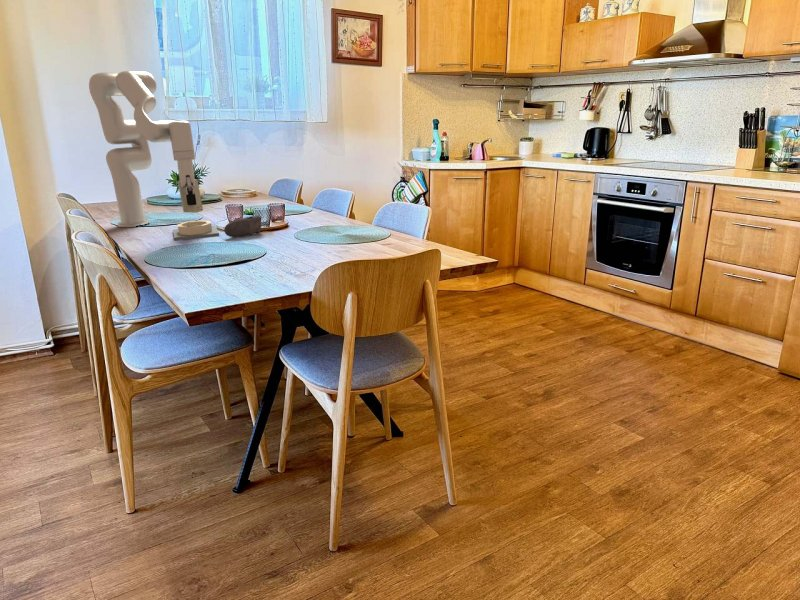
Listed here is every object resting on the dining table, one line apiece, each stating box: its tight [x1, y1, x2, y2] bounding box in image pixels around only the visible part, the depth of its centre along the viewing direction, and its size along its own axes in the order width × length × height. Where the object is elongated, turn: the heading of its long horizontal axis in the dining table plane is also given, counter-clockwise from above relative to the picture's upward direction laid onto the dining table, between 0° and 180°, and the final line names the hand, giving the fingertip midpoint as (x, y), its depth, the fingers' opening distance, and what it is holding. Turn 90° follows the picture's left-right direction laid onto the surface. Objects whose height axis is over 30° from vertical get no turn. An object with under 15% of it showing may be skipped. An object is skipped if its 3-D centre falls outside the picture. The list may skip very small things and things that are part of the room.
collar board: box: [172, 220, 220, 241], centre depth 217 cm, size 16×16×4 cm
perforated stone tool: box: [224, 215, 262, 238], centre depth 212 cm, size 15×5×7 cm, turn 122°
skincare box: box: [177, 178, 204, 214], centre depth 213 cm, size 6×4×12 cm
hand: (191, 203), depth 214 cm, fingers closed on skincare box, 7 cm apart
